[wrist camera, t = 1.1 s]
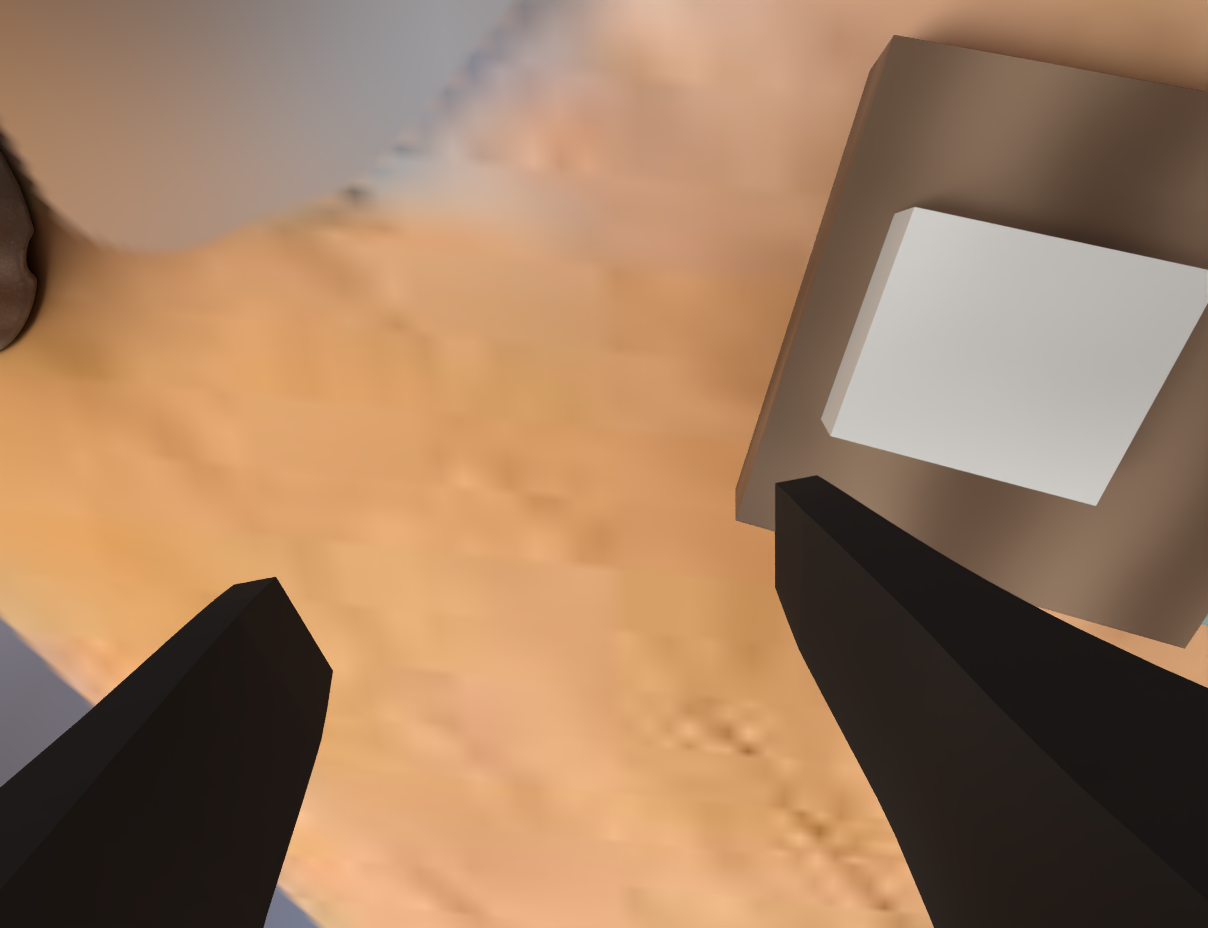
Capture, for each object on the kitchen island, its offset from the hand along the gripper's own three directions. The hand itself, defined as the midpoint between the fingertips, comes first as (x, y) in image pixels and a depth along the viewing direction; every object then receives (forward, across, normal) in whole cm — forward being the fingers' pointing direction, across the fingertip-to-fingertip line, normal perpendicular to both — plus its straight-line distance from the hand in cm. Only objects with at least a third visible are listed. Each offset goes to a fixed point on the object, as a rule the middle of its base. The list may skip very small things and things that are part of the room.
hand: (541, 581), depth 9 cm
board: (+10, -15, +4) cm, 19 cm away
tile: (+8, -12, +2) cm, 15 cm away
